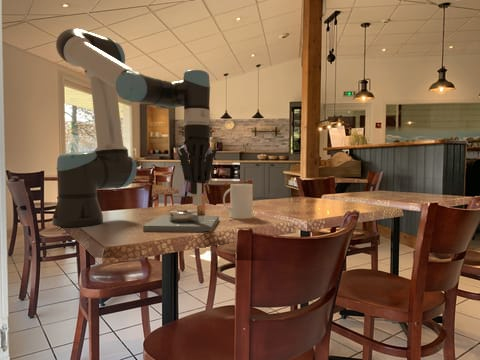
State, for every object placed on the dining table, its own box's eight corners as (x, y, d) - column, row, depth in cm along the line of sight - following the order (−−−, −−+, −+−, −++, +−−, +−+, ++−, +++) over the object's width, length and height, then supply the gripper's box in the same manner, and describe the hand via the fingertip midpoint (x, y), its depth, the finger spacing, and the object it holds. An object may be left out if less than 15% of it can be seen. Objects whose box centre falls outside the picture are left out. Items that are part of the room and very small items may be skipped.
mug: (227, 220, 126) (227, 185, 126) (217, 216, 134) (217, 184, 133) (257, 218, 132) (257, 184, 131) (246, 214, 139) (246, 183, 139)
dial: (164, 219, 117) (163, 194, 116) (187, 216, 123) (187, 192, 123) (191, 225, 106) (191, 198, 106) (215, 221, 112) (215, 195, 112)
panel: (143, 231, 107) (143, 225, 107) (161, 219, 127) (161, 214, 127) (211, 232, 106) (211, 226, 106) (218, 220, 126) (218, 215, 126)
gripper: (185, 121, 100) (185, 207, 101) (222, 125, 109) (222, 204, 110) (171, 124, 106) (171, 205, 107) (207, 127, 114) (207, 202, 115)
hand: (197, 205), depth 108 cm, fingers closed
